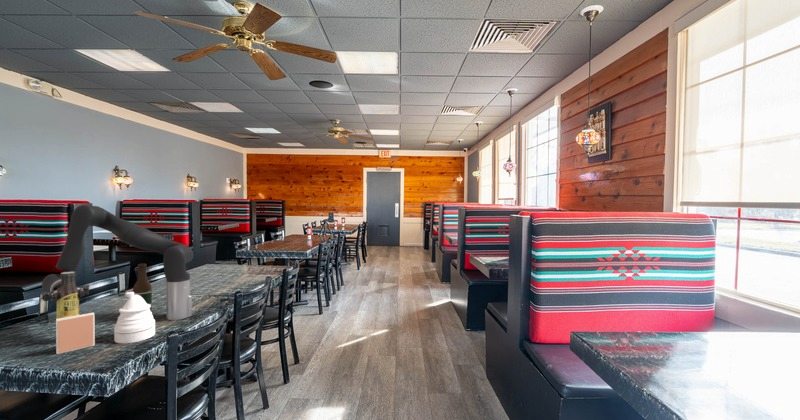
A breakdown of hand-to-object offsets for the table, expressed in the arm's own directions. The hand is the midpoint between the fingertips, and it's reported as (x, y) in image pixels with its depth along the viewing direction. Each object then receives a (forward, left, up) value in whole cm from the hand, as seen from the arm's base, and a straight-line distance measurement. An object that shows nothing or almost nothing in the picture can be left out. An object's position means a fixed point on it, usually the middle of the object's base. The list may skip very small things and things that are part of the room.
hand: (68, 296), depth 129 cm
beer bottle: (-27, -19, -18) cm, 38 cm away
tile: (-1, +10, -18) cm, 20 cm away
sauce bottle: (0, -2, -11) cm, 11 cm away
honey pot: (-18, +11, -18) cm, 28 cm away
